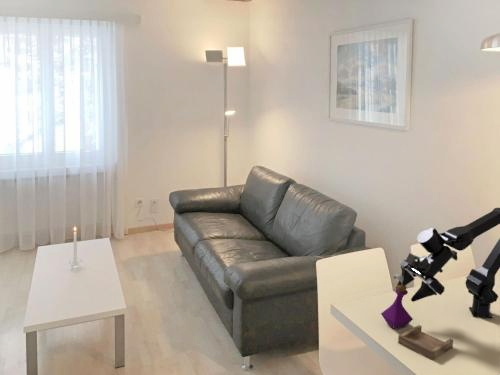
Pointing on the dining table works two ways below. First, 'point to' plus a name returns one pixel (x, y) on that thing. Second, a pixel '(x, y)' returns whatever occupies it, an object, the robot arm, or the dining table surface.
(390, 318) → the perfume bottle
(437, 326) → the dining table surface
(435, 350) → the wooden tray
